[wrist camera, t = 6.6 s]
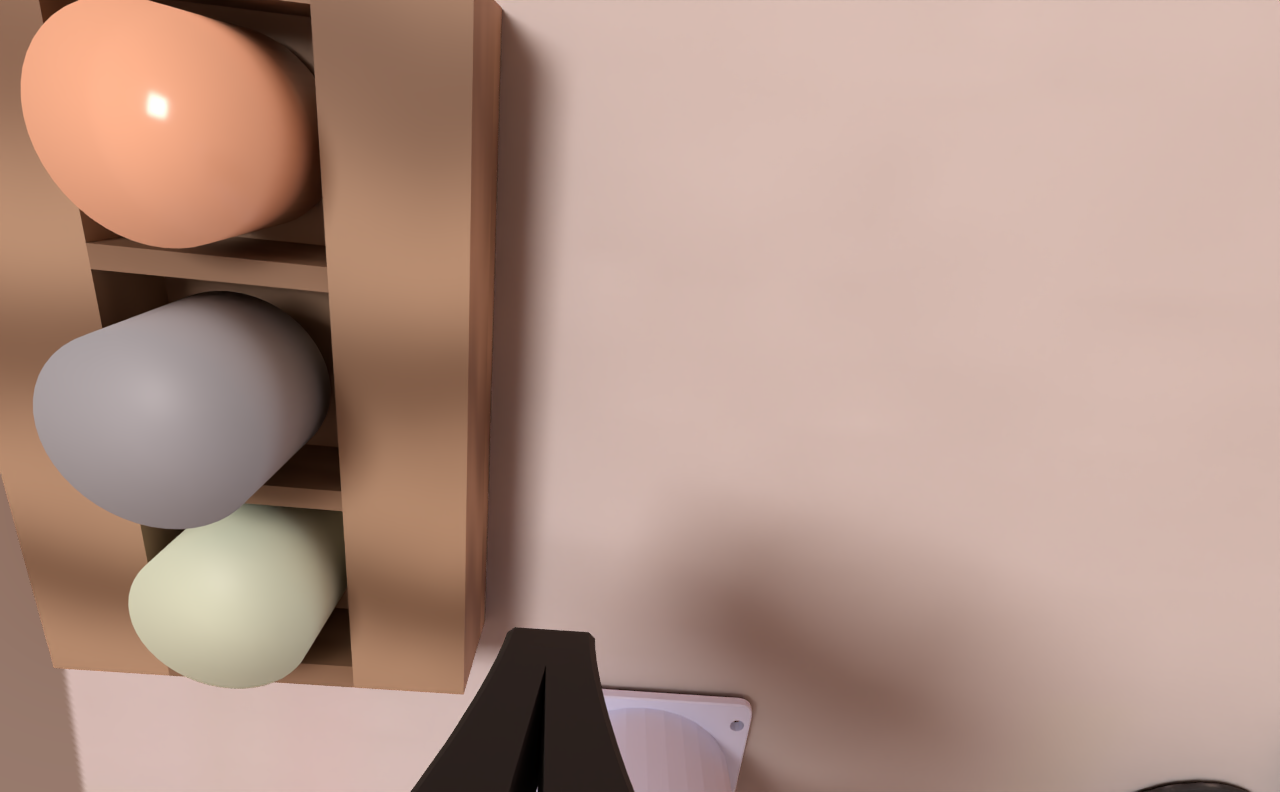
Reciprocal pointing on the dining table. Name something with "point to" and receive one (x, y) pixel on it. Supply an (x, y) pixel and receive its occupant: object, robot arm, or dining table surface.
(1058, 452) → the dining table surface
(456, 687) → the brown wooden flat frame
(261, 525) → the key sage
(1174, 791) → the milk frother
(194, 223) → the peach rounded block
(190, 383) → the key slate
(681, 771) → the robot arm
